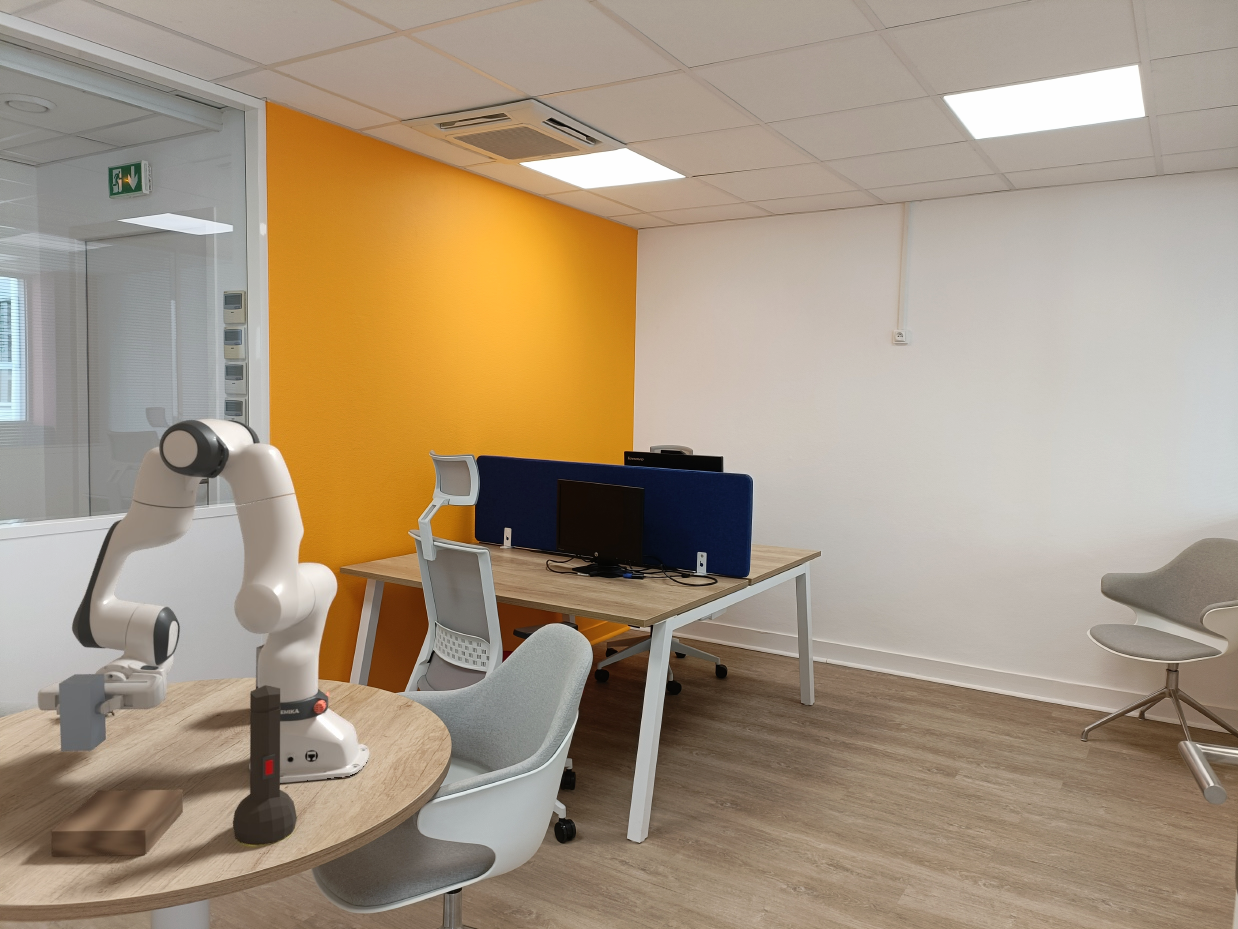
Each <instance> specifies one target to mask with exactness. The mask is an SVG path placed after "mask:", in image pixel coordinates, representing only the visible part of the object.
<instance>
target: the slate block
mask: <svg viewBox="0 0 1238 929" xmlns="http://www.w3.org/2000/svg"><path fill="white" fill-rule="evenodd" d="M62 681H63V680H62ZM59 701H60V715H59V726H60V728H59V729H60V752H88V751H89V752H90V751H93V750H94V749H95V748H97V747H98V746H99V745H101V744H102V743H103V742H105V741H106V740H107V734H106V733H107V730H106V727H107V726H106V714H96V713H95V711H96V709H95V706H96V704H98V703H99V702H105V684H104V674H95V673H87V674H85V673H77V674H73V675H71V676H69V677H68V678H66V679H64V681H63V682H61V683H59Z"/></svg>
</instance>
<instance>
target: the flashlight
mask: <svg viewBox="0 0 1238 929" xmlns="http://www.w3.org/2000/svg"><path fill="white" fill-rule="evenodd" d="M249 695H250V696H249V698H250V700H249V703H250V705H249V707H250V708H249V709H250V711H249V712H250V714H249V717H250V719H249V720H250V722H249V723H250V724H249V725H250V726H249V729H250V730H249V735H250V736H249V737H250V738H249V740H250V742H249V743H250V744H249V746H250V750H249V754H250V756H249V763H250V770H249V776H250V777H249V784H250V785H249V792H250V793H249V794H248V795H246V796H245V797H244V798H243V799H241V800H240V802H239V804H238V806H237V807H236V809H235V810H234V813H233V814H234V815H233V820H232V830H233V834H234V838H235V840H236V841H237V842H238V843H240V844H244V845H250V846H251V845H252V846H253V845H254V846H264V845H269V844H273V843H276V842H279V841H282V840H284V839H285V838H288V836H290V835H291V834H292V833H293V832H294V830H295V829H296V825H297V819H298V818H297V817H298V816H297V811H296V807H295V806H296V805H295V802H294V800H293V799H292V798H291V797H290V795H289V793H287V792H285V791H283V790H281V783H280V688H276V687H272V686H267V685H265V686H262V687H260V688H257V689H256V688H255V689H253V690H251V691H250V693H249Z"/></svg>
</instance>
